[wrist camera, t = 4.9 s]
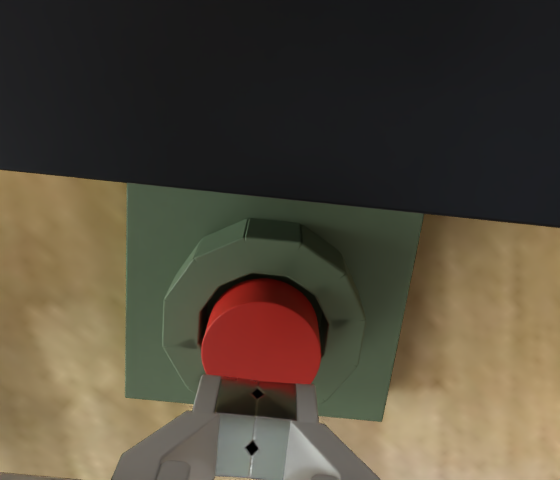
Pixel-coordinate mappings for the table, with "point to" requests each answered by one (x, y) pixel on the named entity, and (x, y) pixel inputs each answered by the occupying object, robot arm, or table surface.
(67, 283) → the table surface
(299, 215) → the control block
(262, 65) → the dark drawer cabinet
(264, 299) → the stop button
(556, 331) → the table surface
